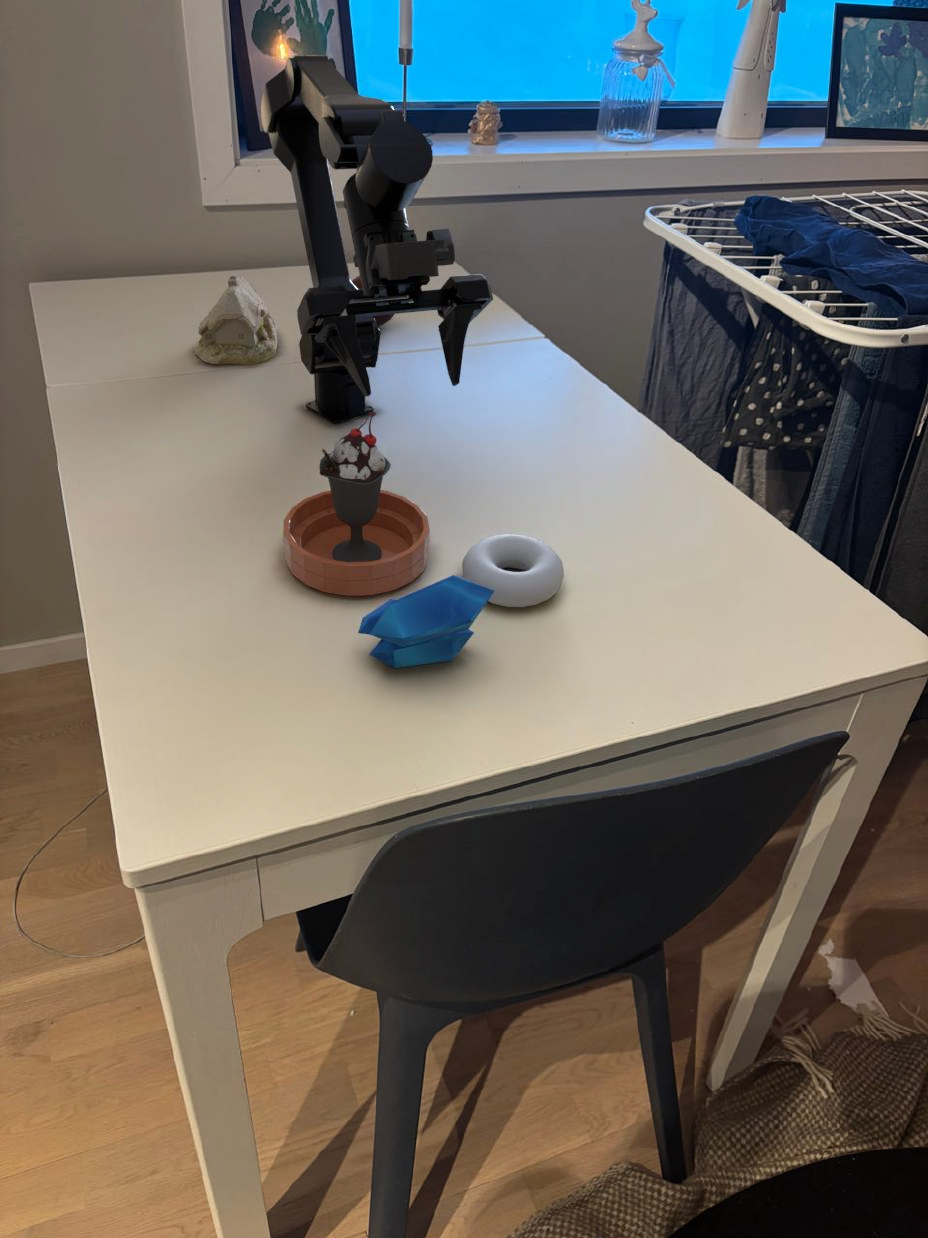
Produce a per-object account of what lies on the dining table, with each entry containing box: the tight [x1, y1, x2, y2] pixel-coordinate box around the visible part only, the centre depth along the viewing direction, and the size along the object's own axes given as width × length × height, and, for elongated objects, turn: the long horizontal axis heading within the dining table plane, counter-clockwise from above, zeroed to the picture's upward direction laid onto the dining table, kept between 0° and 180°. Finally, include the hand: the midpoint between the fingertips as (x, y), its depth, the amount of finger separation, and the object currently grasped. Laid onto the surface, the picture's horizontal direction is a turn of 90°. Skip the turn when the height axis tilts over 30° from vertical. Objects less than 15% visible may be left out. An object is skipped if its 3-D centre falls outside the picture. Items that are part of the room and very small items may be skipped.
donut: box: [461, 533, 565, 608], centre depth 91 cm, size 10×4×10 cm
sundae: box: [318, 411, 392, 562], centre depth 89 cm, size 7×7×15 cm
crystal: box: [357, 574, 494, 669], centre depth 80 cm, size 7×9×12 cm
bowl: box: [282, 489, 431, 597], centre depth 93 cm, size 14×14×4 cm
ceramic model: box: [194, 275, 278, 365], centre depth 132 cm, size 14×11×10 cm
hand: (412, 389), depth 92 cm, fingers open, 9 cm apart
